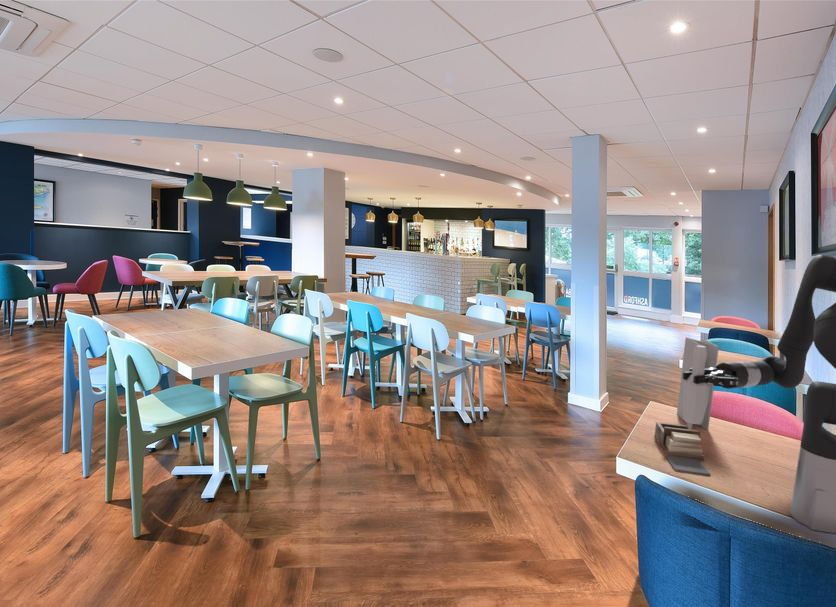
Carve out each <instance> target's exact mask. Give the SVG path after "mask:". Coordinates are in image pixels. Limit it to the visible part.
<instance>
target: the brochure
mask: <svg viewBox="0 0 836 607" xmlns="http://www.w3.org/2000/svg"><path fill="white" fill-rule="evenodd" d="M697 345H699V346H705V347H706V350H707V354H708V355H707V359H706V363H705V369H709V368H715V367H716V366H717V365H718V355H719V349H720V348H719V347H720V346H719V345H717V344H715V343H713V342H710V341H709V340H706V339H705V338H702V337H701V338H700V340H697V339H694V338H690V337H687V336H685V341H684V347H683V348H684V349H683V358H682V365H681V367H682V368H681V374H680V384H679V390H678V391H679V392H678V400H677V407H676V408H677V409H676V415H678V417H679V418H681V420H682V421H683V420H684V419H683V386H684V381H685V380H684V379H683V373H684V372H690V368H693V352H694V350H695V347H696V346H697ZM714 387H715V386H714V385H713V384H710V391H709V400H708V403H707V407H706V411H705V414H704V418H703V422H702V423H701V424H696V425H697V426H699V427H701V428H703V429H705V430H707V431H709V428H710V421H711V420H710V419H711V412H712V404H713V396H714V395H713V394H714ZM686 423H687V424H686ZM686 423H685V424H686V426H688V425H689V426H690V427H691V428H692V429H693V425H694V424H692V423H688V422H686Z"/></svg>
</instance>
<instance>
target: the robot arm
mask: <svg viewBox="0 0 836 607" xmlns="http://www.w3.org/2000/svg"><path fill="white" fill-rule="evenodd" d="M816 289H819V290H822V291H827V292H832V293H836V256H831V255H826V254H818V255H815V256H814V257H812V259H811V260H810V261H809V262H808V265H807V266H806V268H805V270H804V273H803V276H802V279H801V282H800V285H799V289H798V291H797V295H796V297H795V301H794V304H793V308H792V311H791V314H790V318H789V319H788V323H787V325H786V327H785V329H784V331H783V332H782V335H781V336H780V340H779V342H778V343H777V348H776V349H777V350H778V351H779V353H781V355H783V356H784V358H785V359H786V360H784V359H783V358H781V357H779V356H774V355H769V356H766V357H763V358H760V359H759V360H757V361H729V362H728V361H727V362H726V361H725V362H724V361H723V362H721V363H717V365H716V367H715V368H709V369H705V370H704V375H696V376H694V379H693V383H695V384H700V383H707V384H713V385H714V387H721V388H723V389H728V390H729V389H730V390H731V389H741V388H742V389H743V388H744V389H745V388H752V387H757V386H758V387H759V386H766V385H769V384H770V383H772V382H773V383H774V384H777V385H778V386H779V387H782V388H783V389H788V390H789V389H794V388H795V387H798V386H799V385H800V384H801V382H802V381H803V379H804V376H805V370H806V362H807V357H808V356H807V355H808V353H809V351H810V349H811V347H812V345H813V344H814V347H815V348H816V350H817V351H818V353H819V354H820V355H821V356H822V357H823V358H824V360H826V361H827V362H828V363H829V364H830V365H831V366H832V367H833V368H834V369H835V370H836V302H834V303H833V304H832V305H830V306H828V307H827V308H825V310H823V311H822V312H820V313H819V315H818V316H817V317H816V315H815V311H814V307H813V297H814V293H815V291H816ZM692 369H693V368H690V372H684V373H683V379H684V380H687V379H688V377H689V376H690V375H691V374H692ZM803 419H804V420H803V427H802V434H801V440H800V446H799V452H798V460H797V464H796V472H795V475H794V476H795V477H794V483H793V490H792V498H791V503H790V509H789V510H790V512H789V513H790V514H789V515H791V517H792V518H793V519H794V520H796V521H797V522H799V523H800V524H802V525H804V526H806V527H808V528H809V529H810V530H813V531H818V532H825V533H831V534H836V434H834V433H832V432H830V431H829V430H828V429H826V428H825V427H824V426H823V425H824V424H828V425H832V426H833V425H834V426H836V383H832V382H825V381H819V380H818V381H817V380H816V381H812V382H811V383H810V384H809V386H808V388H807V391H806V396H805V406H804V418H803Z"/></svg>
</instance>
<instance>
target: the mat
mask: <svg viewBox="0 0 836 607" xmlns="http://www.w3.org/2000/svg"><path fill="white" fill-rule="evenodd" d="M665 458H666V459H667V461H668V463H669V464H670V466H671V468H673V470H674V472H681V473H688V474H696V475H700V476H701V475H702V476H710V477H711V473H710V472H709V470H708V469H707V468H706V467H705V465H704V463H702V461H700V460H699V459H692V458H684V457H677V456H669V455H666V454H665Z"/></svg>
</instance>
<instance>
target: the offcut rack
mask: <svg viewBox="0 0 836 607" xmlns="http://www.w3.org/2000/svg"><path fill="white" fill-rule="evenodd" d="M654 429H655V430H654V438H655V439H656V441H657V443H658V444H659V446H660V447H661V449H662V450H663V452H664V453H665V456H666V455H669V456H677V457H684V458H692V459H699V460H700V461H701V462H704V461H705V458H706V457H705V455H704V454H703V449H702V448H701V444H702V439H701V431H700V430H695V429H693V427H692V428H691V427H690V426H688V425H687V424H686V425H685V424H684V425H683V424H677V423H676V424H675V423H668V422H660V421H656V422H655V428H654Z"/></svg>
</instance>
